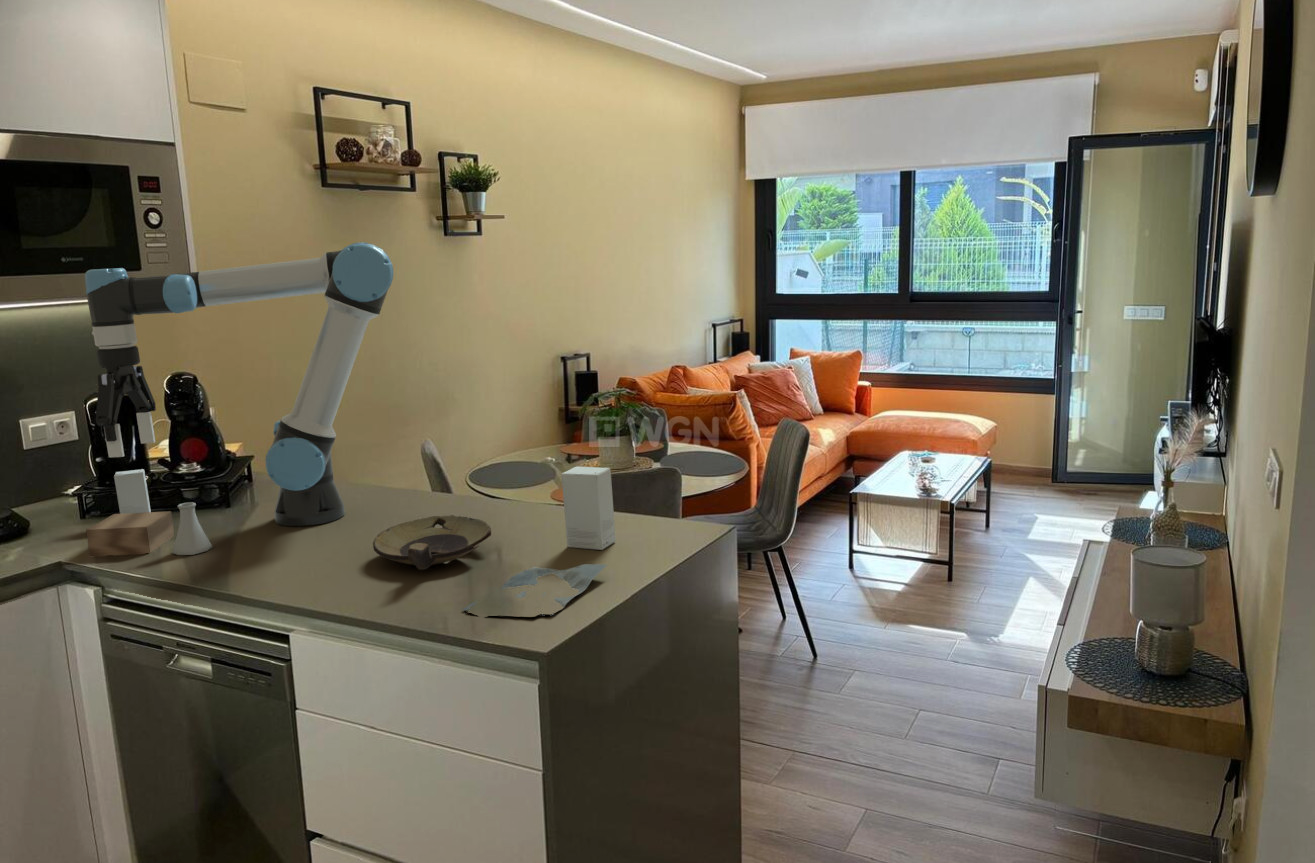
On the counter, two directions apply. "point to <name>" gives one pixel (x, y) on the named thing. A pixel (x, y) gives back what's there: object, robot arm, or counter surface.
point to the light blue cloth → (574, 576)
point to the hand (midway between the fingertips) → (132, 449)
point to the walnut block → (130, 533)
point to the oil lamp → (431, 540)
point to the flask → (190, 533)
